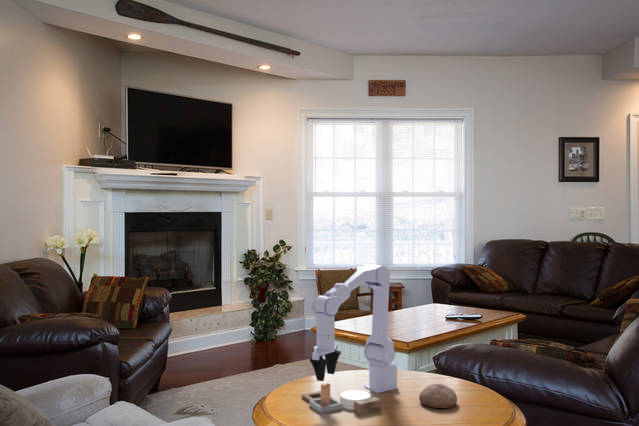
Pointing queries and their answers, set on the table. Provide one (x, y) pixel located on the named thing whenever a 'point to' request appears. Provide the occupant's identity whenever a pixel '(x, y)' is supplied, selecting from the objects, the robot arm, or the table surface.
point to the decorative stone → (438, 396)
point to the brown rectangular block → (367, 406)
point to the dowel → (325, 394)
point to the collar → (311, 396)
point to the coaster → (352, 398)
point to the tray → (332, 407)
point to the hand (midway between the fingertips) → (325, 377)
